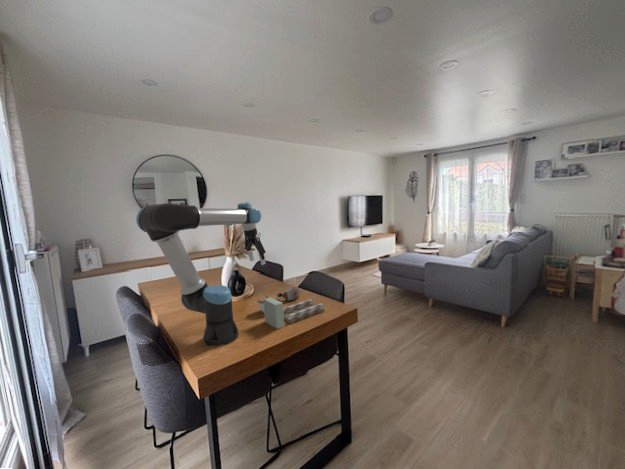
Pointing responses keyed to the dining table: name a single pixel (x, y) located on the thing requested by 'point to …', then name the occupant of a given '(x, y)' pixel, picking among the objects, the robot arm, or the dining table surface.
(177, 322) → the dining table surface
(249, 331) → the dining table surface
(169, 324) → the dining table surface
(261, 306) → the lidded jar
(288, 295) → the decorative duck model
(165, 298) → the dining table surface
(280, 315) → the pale green square block
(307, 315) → the grey bumpy tray
